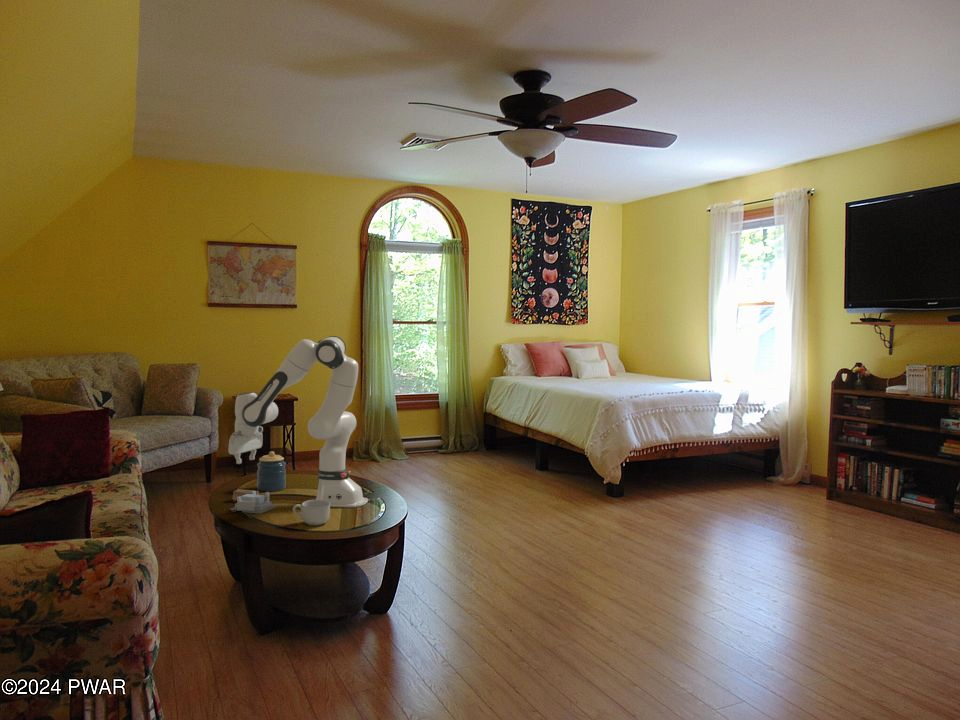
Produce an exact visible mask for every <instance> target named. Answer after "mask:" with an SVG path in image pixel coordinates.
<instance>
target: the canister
mask: <svg viewBox="0 0 960 720" xmlns="http://www.w3.org/2000/svg"><path fill="white" fill-rule="evenodd" d="M284 460H285V457H283V456H282V455H280V454H275V451H271V450H270V451H269V452H268V454H266V455H263V456H262V457H259V459H258V461H259V462H258V463H257V464H256V465H257V468H258V469H257V471H256V473H257V474H256V475H257V476H256V477H257V478H256V479H257V481H256V482H257V483H256V488H257V491H259V492H278V491H282V490H284V489H286V487H287V482H286V479H287V477H286V476H287V475H286V473H287V472H286V471H287V470H286V465H287V462H286V461H284Z"/></svg>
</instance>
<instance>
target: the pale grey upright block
mask: <svg viewBox="0 0 960 720" xmlns="http://www.w3.org/2000/svg"><path fill="white" fill-rule="evenodd" d="M264 496H265V495H264V494H263V495H262V494H259V495H253V494H246V495H243V496H241V501H251V498H255V505H262V504H264Z"/></svg>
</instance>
